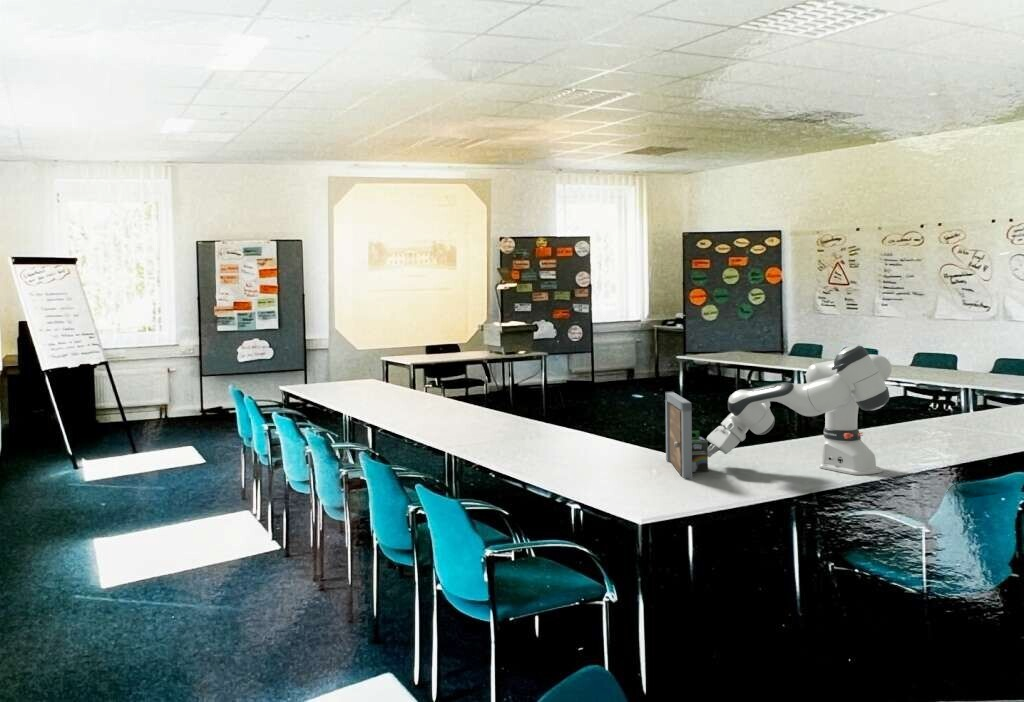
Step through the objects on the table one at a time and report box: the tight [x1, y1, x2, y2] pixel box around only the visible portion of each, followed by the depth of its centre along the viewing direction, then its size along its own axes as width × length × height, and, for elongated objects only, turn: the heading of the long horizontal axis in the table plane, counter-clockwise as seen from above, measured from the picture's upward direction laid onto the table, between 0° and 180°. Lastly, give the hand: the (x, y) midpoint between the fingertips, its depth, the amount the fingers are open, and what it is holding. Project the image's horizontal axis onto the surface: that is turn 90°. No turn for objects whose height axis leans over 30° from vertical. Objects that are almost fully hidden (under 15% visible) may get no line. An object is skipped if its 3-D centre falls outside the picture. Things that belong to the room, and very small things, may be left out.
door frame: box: [664, 391, 693, 479], centre depth 304 cm, size 3×32×27 cm, turn 0°
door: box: [670, 403, 682, 476], centre depth 304 cm, size 3×24×23 cm, turn 178°
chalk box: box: [692, 430, 709, 473], centre depth 302 cm, size 9×9×15 cm
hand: (706, 455), depth 302 cm, fingers closed, pressing on chalk box
